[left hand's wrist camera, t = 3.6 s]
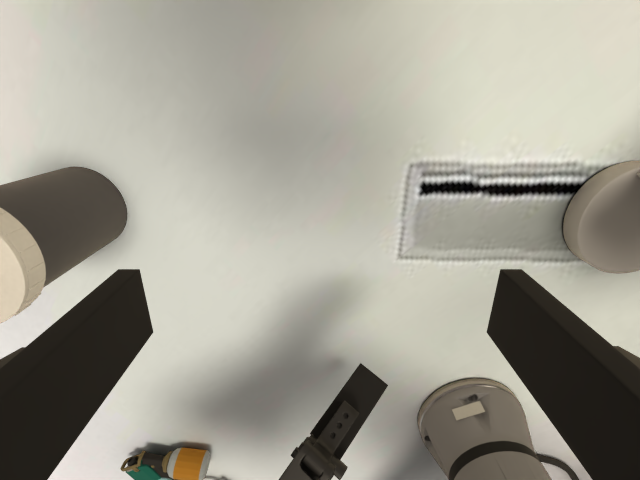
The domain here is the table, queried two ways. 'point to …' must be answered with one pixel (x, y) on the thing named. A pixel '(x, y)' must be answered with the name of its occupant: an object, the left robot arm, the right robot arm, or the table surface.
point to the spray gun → (169, 465)
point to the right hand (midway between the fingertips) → (358, 392)
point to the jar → (66, 214)
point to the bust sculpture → (607, 220)
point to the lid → (18, 267)
